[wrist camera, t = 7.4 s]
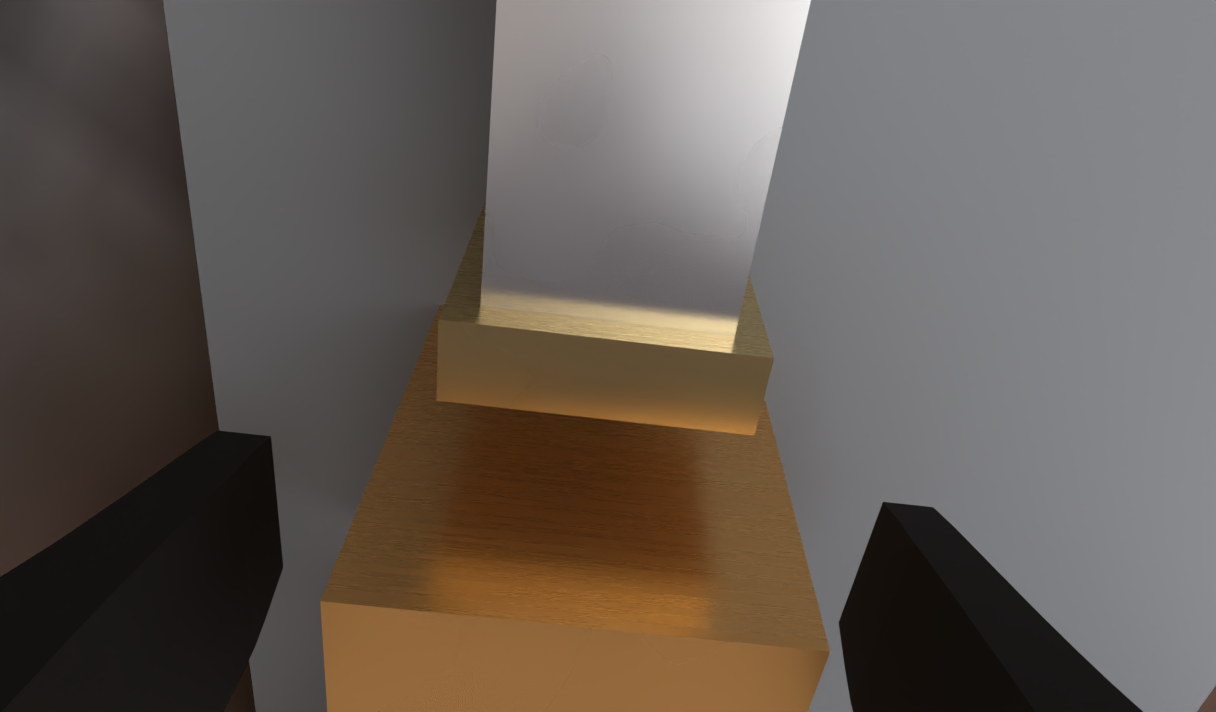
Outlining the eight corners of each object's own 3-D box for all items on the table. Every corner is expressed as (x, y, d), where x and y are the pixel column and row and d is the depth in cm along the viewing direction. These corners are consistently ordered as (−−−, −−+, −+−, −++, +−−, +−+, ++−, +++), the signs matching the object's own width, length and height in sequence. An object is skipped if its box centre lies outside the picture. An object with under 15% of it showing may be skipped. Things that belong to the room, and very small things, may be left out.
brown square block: (695, 566, 13) (731, 917, 9) (433, 540, 13) (338, 884, 9) (749, 341, 11) (829, 652, 7) (440, 304, 11) (320, 600, 7)
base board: (1849, -455, 8) (2079, -512, 7) (1017, 848, 19) (1046, 919, 18) (147, -747, 7) (48, -873, 6) (298, 785, 19) (274, 854, 17)
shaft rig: (905, -532, 7) (1120, -818, 4) (605, 860, 17) (602, 1075, 14) (208, -647, 7) (-134, -1054, 4) (323, 836, 17) (258, 1050, 14)
